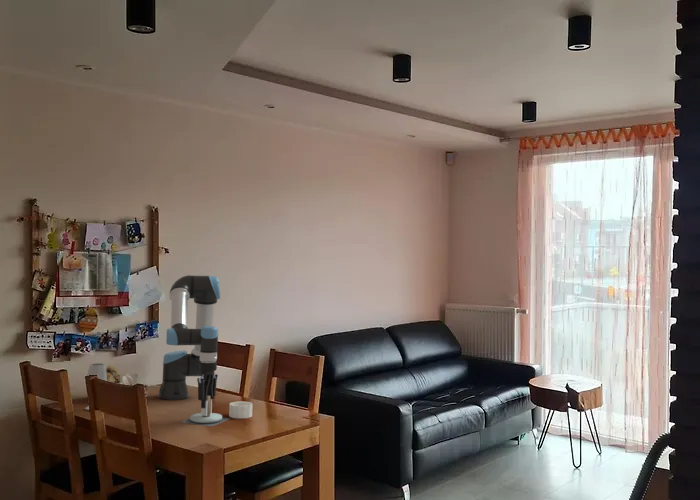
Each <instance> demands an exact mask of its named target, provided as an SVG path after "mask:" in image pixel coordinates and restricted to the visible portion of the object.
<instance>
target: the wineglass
mask: <svg viewBox="0 0 700 500" xmlns="http://www.w3.org/2000/svg"><path fill="white" fill-rule="evenodd" d="M106 368H107V367H106V364H105V363H102V362H100V363H97V362H95V363H90V364H89V367H88V371H87V375H86V377H87V376H89V375H97V377H98V378H99V379H102V380H105V381H107V373H106ZM89 406H90V405H88V406H86V407H84V409H85V410H86V411H89Z"/></svg>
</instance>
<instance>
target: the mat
mask: <svg viewBox="0 0 700 500" xmlns="http://www.w3.org/2000/svg"><path fill="white" fill-rule="evenodd" d="M230 420H231V417H230V418H227V417H222V420H221V421H218V422H213V423H197V422H192V421H190V418H188V419H186V420H182V421H180V423H181V424H182V423H183V424H191V425H195V426H196V425H197V426H206V427H214V426H217V425H220V424H222V423H224V422H227V421H230Z"/></svg>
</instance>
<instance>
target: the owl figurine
mask: <svg viewBox="0 0 700 500" xmlns="http://www.w3.org/2000/svg"><path fill="white" fill-rule="evenodd" d="M106 373H107V381H109V382H114V383H119V384H120V382H121V373H120V372H119V370H118V367H116V365H115V366H114V365H111V364H110V365H107V367H106Z"/></svg>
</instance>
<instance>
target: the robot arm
mask: <svg viewBox="0 0 700 500" xmlns="http://www.w3.org/2000/svg"><path fill="white" fill-rule="evenodd" d="M169 299H170V300H171V312H170V313H171V314H170V316H171V317H170V328H167V329H166V337H165V338H166V341H165V342H166V345H168V346H176V347H177V346H194V347H193V348H192V349H191V351H190V352H191V353H188V351H186V350H175V351H170V352H166V353H165V354H164V355H163V358H162V359H163V361H162V382H161V385H160V388H159V391H158V394H157V396H158V399H160V398H161V400H166V399H167V400H166V401H168V400H170V401H172V400H173V401H174V400H175V401H176V400H186V399H188V398H189V394H190V393H189V389H188V385H187V382H186V381H187V380H186V379H187V377H198V378H196V379H197V380H196V381H197V398H198V401H201V402H200V403H201V404H200V406H201V407H200V413H201V415H203V416H207V406H208V401H206V400H207V395H209V396H210V414H212V413H213V412H212V410H213V400H215V398H216V393H217V381H218V376H219V375H218V374H216V373H215V371H217V368H218V367H217V366H218V362H217V360H218V342H219V341H218V340H219V328H218V326H213V325H214V324H213V323H214V309H215V308H214V307H215V305H216V304H217V303H218V300H220V299H221V287H220V280H219V277H218V276H214V275H190V274H188V275H184V276H181V277H180V278H178V279H177V280H176V281H175V282H174V283H173V284H172V285H171V287H170V290H169ZM189 299H193V303H195V305H196V310H195V311H196V312H195V315H196V316H195V328H188V327H189V326H188V320H189V316H188V315H189V314H188V311H189V310H188V307H189V306H188V301H189Z"/></svg>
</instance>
